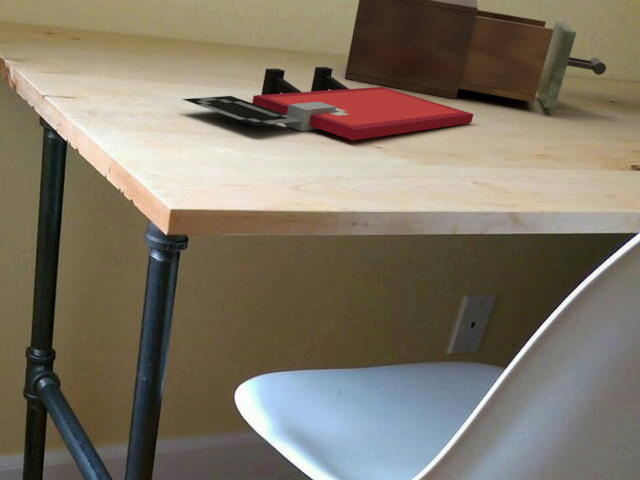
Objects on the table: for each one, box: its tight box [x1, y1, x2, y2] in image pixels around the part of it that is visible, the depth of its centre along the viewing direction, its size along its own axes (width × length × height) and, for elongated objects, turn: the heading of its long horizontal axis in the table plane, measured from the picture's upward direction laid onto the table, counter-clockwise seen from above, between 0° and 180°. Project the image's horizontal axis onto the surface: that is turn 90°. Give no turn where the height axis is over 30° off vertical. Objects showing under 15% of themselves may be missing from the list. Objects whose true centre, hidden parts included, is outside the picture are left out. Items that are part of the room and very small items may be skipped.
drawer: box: [458, 9, 607, 110], centre depth 107 cm, size 17×13×9 cm
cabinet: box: [344, 0, 479, 100], centre depth 110 cm, size 13×14×10 cm
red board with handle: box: [182, 66, 474, 141], centre depth 84 cm, size 30×3×15 cm
